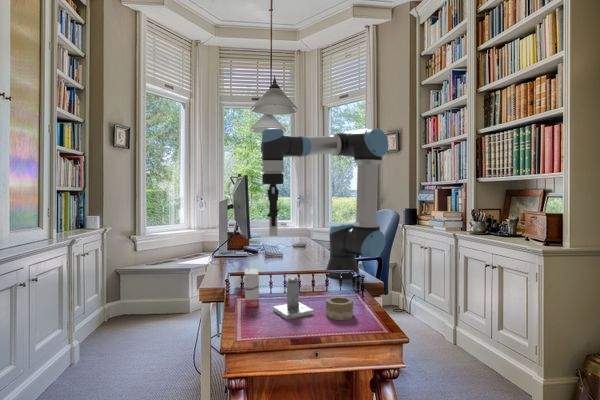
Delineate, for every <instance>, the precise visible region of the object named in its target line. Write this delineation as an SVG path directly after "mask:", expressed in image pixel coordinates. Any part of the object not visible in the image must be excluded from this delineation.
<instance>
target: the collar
mask: <svg viewBox="0 0 600 400" xmlns="http://www.w3.org/2000/svg"><path fill="white" fill-rule="evenodd" d="M325 316H326V317H327V318H329V319H331V320H339V321H345V320H346V321H347V320H349V319H350V320H351V319H352V318H353V317H354V299H352V298H351V297H347V296H339V295H338V296H331V297H327V299H326V300H325Z"/></svg>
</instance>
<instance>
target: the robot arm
mask: <svg viewBox="0 0 600 400" xmlns="http://www.w3.org/2000/svg"><path fill="white" fill-rule="evenodd" d="M259 148H260V153H261V160H262V163H260V166H261V167H262V169H261V170H262V172H263V173H262V176H261V179H262V180H261V181H262V183H261V184H263V185H269V186H268V189H267V193H266V194H267V200H268V202H269V211H268V212H269V213H267V217H269V218H268V219H269V222H268V223H269V224H268V225H269V228H268V229H269V230H268V231H269V237H278V212H279V209H278V202H279V192H280V190H279V189H278V188H277V185H283V184H284V181H285V179H284V173H283V172H284V171H285V169H284V167H285V166H284V165H285V161H284V158H292V157H296V158H302V157H308V156H313V155H315V156H316V155H327V154H328V155H331V156H334V157H335V156H338V157H339V156H341V157H351V158H353V161H354V163H356V165H357V169H356V170H357V171H356V174H357V175H356V176H357V178H356V182H357V183H356V211H355V212H356V213H355V215H356V216H355V222H353V223H342V224H334V225H333V224H332V225H331V226H330V228H329V234H328V235H329V260H328V262H327V264H326V265H327V266H326V268H325V271H326V270H353V271H354V272H356V273H357V274H359V275H360V269H359V265H358V261H357V258H356V257H357V256H358V257H359V256H361V257H363V258H370V259H373V258H376V257H378V256H379V255H380V254H382V252H383V251H384V248H385V246H386V236H385V234H384V233H383V232H382V231H381V227H380V226H381V225H380V224H379V222H377V213H378V212H377V208H378V183H379V182H378V181H379V179H378V176H379V165H380V164H381V163H382V162H383V157H384V156H385V155H386V154H387V152H388V150H389V140H388V136H387V135H386V134H385V132H384V131H383V130H381V129H380V128H373V127H369V128H363V129H362V128H361V129H353V130H352V129H351V130H347V131H343V132H338V133H330V134H328V135H323V136H322V135H319V136H316V135H315V136H305V135H304V136H303V135H287V134H284V130H283V129H282V128H278V127H274V128H273V127H271V128H269V127H268V128H264V129H263V130H262V133H261V143H260V147H259ZM341 276H342V278H340V273H329V274H328V276H327V277H330V278H334V279H344V280H345V279H353V274H352V273H351V272H349V273H342V274H341Z"/></svg>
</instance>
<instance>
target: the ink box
mask: <svg viewBox="0 0 600 400" xmlns="http://www.w3.org/2000/svg"><path fill="white" fill-rule="evenodd" d="M259 278H260V277H259V268H245V269H244V305H245V308H257V307H258V306H259V307H260V305H259V303H260V302H259V301H260V300H259V299H260V290H259V289H260V285H259V284H260V279H259Z"/></svg>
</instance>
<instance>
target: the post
mask: <svg viewBox="0 0 600 400" xmlns="http://www.w3.org/2000/svg"><path fill="white" fill-rule="evenodd" d="M272 311H273V312H274V313H275V314H277V315H278V316H280V317H282V318H283V319H285V321H287V320H292V319H297V318H302V317H303V318H304V317H308V316H313V315H315V314H314V313H315V312H314V309H313V308H310V307H308V306H307V305H305V304H303V302H300V281H299V280H298V278H297V277H289V278H288V279H287V281H286V303H284V304H279V305H275V306H272Z"/></svg>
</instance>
